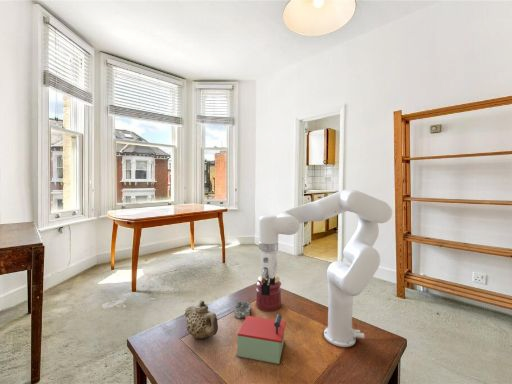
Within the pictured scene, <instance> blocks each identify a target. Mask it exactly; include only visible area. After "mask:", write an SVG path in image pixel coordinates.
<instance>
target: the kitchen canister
mask: <svg viewBox="0 0 512 384" xmlns="http://www.w3.org/2000/svg"><path fill="white" fill-rule="evenodd" d="M266 280H267V279H266ZM261 283H262V277H261V275H259V276H258V277H257V281H256V300H255V301H256V302H255V303H256V306H257V308H258V309H260V310H263V311H266V312H272V311H276V310H278V309H280V307H281V305H282V299H281V297H282V288H281V286H282V281H281V280H280V277H279V276H277V274H276V275H275V285H270V295H269V296H268V295H262V294H261Z"/></svg>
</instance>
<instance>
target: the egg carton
mask: <svg viewBox="0 0 512 384" xmlns="http://www.w3.org/2000/svg"><path fill="white" fill-rule="evenodd" d="M250 311H251V303H250V302H247V301H239V300H236V302H235V305H234V312H235V318H237V319H241V318H244V319H246V317H247V316H251V315H250V314H251V313H250Z"/></svg>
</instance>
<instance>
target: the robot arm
mask: <svg viewBox="0 0 512 384" xmlns="http://www.w3.org/2000/svg"><path fill="white" fill-rule="evenodd" d="M345 212H350V213H354V214H356V217H357V228H356V229H355V231H354V232H353V234H352V236H351V237H350V239H349V241H348V242H347V244H346V245H345V247H344V248H343V252H342V255H343V258H344V259H345V260H346V261H347V262H349V263H350V264H351V265H349V264H347V263H346V262H343V261H340V260H336V261H335V260H334V261H333V262H331V263H330V264H329V265H328V268H327V270H326V281H327V287H328V288H327V289H328V299H327V300H328V301H327V302H328V303H327V305H328V306H327V327H326V328H325V329H324V331H323V336H324V339H325V340H326V341H327V342H328V343H330V344H331V345H333V346H337V347H341V348H348V347H352V346H354V345H355V344H356V341H357V339H365V333H363V332H361V330H360V329H354V328H353V305H354V304H353V302H354V300H353V299H354V297H356V296H359V295H360V294H362V293H363V292H364V291H365V290H366V288H367V287H368V285H369V283H370V282H371V280H372V279H373V278H374V275H375V274H376V272H377V271H378V269H379V267H380V264H381V255H380V253H379V252H378V250H377V249H376V248H374V245H375V243H376V242H377V240H378V237H379V232H380V228H379V224H385V223H388V222H389V221H390V220H391V218H392V217H393V209H392V207H391V206H390V205H389V204H388V202H385V201H384V200H381V199H379V198H377V197H374V196H372V195H369V194H367V193H365V192H362V191H360V190H353V189H341V190H339V191H337V192H334V193H332V194H329V195H327V196H324V197H321V198H320V199H317V200H314V201H311V202H306V203H304V204H300V205H298V206H294V207H292V208H289V209H286V210H285V211H282V212H280V213H278V214H277V215H273V214H264V215H261V216H259V219H258V221H259V222H258V252H260V276H261V277H262V283H261V294H262V295H268V296H269V295H270V285H275V275H276V276H277V273H278V252H279V235H285V236H292V235H295V234H297V233H298V232H299V230H300V228H301V224H302V223H303V224H304V223H307V222H323V221H326V220H329V219H331V218H333V217H336V216H338V215H340V214H343V213H345ZM266 279H267V280H266Z"/></svg>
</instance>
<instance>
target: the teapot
mask: <svg viewBox="0 0 512 384" xmlns="http://www.w3.org/2000/svg"><path fill="white" fill-rule="evenodd" d="M184 315H185V318H186V321H185V325H186V326H185V327H186V331H187V332H188V334H189V335H190V336H191V337H192V338H195V339H199V340H201V339H205V338H207V337H214V336H216V335H217V333H218V330H219V322H218V317H217V314H216V313H215V312H214V311H210V310H209V306H208V305H207V303H205V300H203V299H202V300H200V301H199V303H198V304H197V305H196V306H195V305H193V304H190V305H188V306H186V309H185V313H184Z"/></svg>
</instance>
